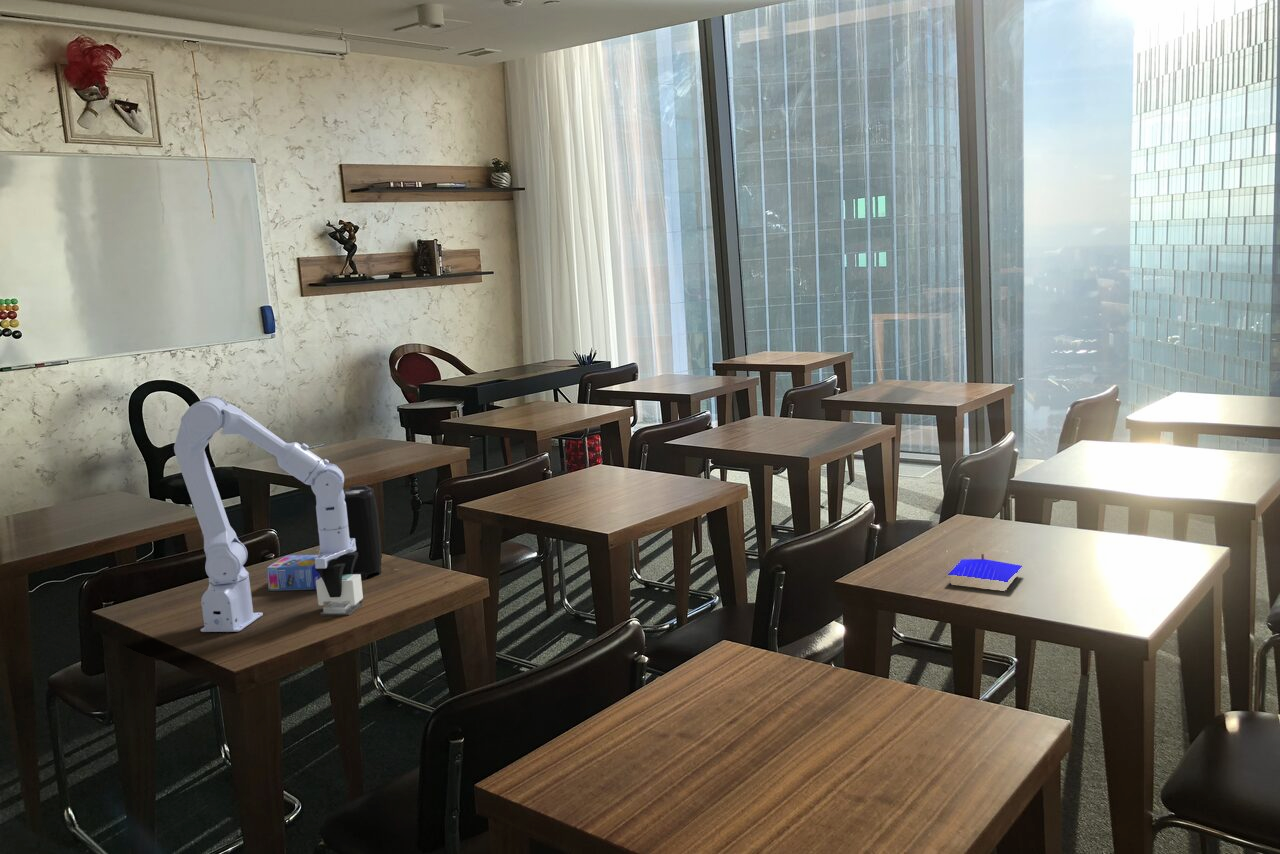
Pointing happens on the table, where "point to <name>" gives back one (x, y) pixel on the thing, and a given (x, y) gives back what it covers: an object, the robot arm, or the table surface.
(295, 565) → the ink cartridge box
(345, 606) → the grey base plate
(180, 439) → the robot arm
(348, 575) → the rail module
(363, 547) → the portable speaker
